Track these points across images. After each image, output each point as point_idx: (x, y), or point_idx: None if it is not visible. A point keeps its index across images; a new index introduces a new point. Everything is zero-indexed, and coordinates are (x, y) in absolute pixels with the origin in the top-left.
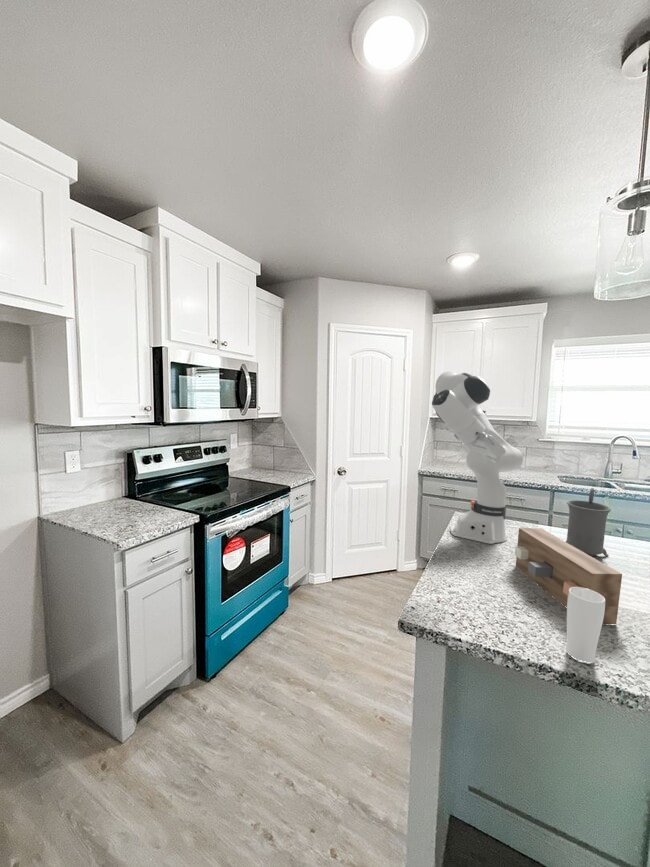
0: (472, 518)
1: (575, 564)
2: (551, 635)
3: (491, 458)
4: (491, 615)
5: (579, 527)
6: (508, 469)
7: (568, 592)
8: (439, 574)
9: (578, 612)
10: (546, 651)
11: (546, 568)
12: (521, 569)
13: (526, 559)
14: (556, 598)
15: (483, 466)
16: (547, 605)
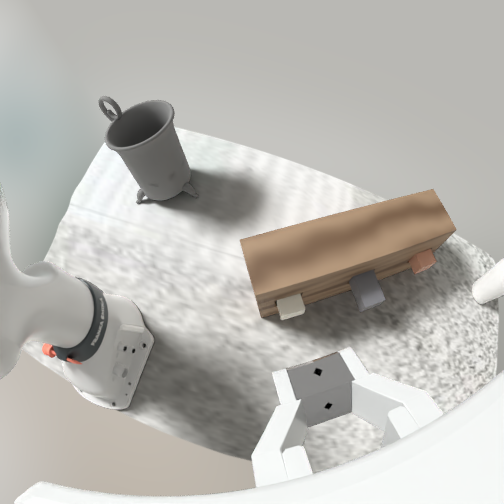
0: (102, 368)
1: (430, 239)
2: (459, 312)
3: (316, 420)
4: (446, 380)
5: (167, 163)
6: (9, 232)
7: (425, 268)
8: (345, 462)
9: None
10: (484, 323)
11: (376, 280)
12: None
13: None
14: None
15: (14, 335)
16: (394, 299)
